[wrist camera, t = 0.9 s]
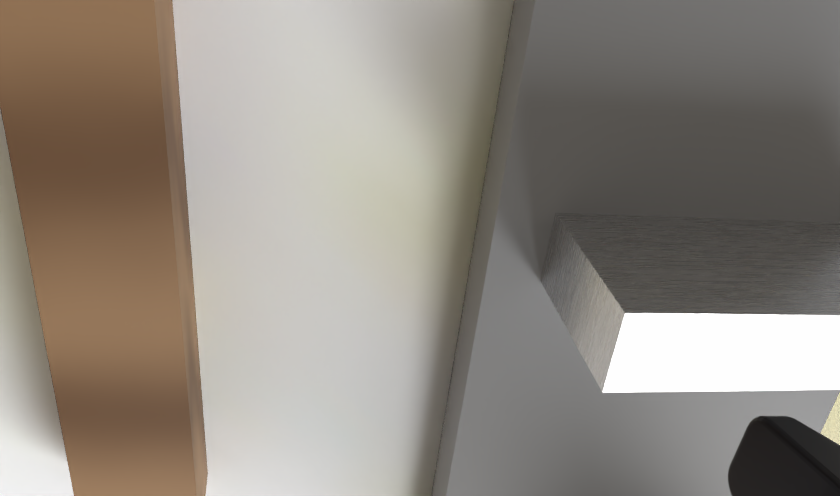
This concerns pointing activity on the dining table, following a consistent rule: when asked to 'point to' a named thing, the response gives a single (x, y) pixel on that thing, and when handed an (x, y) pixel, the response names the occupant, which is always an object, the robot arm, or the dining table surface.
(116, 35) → the walnut bar
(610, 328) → the stand
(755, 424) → the robot arm
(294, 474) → the dining table surface
